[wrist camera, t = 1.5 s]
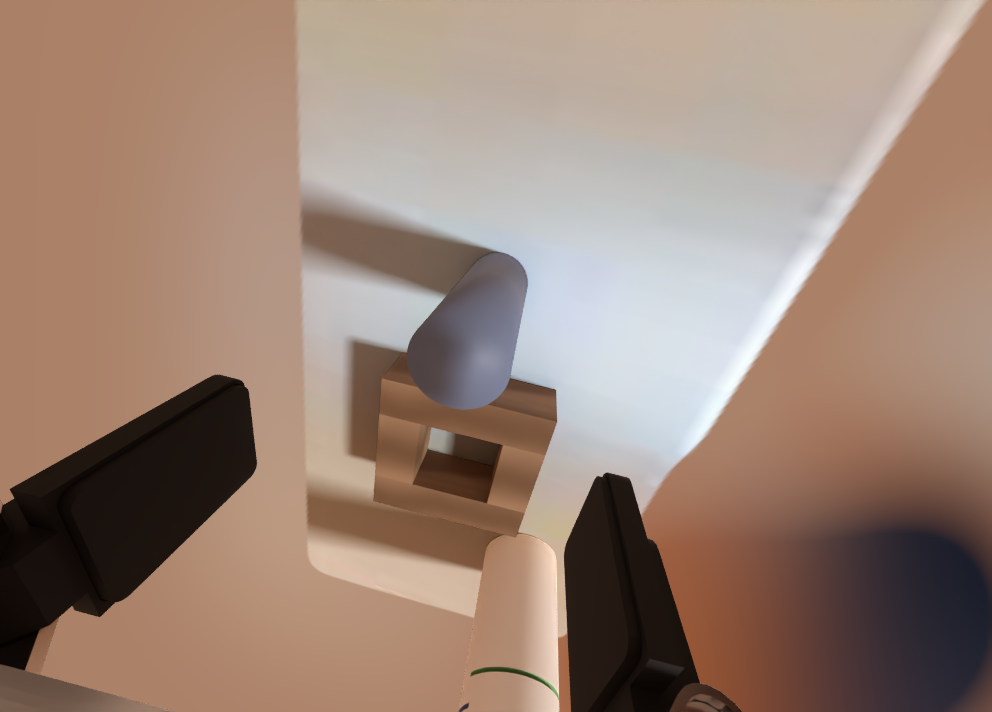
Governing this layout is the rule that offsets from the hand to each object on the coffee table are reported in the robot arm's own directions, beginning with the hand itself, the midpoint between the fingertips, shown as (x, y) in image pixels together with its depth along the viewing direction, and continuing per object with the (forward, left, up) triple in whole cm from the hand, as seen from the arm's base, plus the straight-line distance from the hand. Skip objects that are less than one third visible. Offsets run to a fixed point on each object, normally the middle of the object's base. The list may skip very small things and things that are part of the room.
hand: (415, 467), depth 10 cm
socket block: (+12, 0, -17) cm, 21 cm away
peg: (-1, 0, -17) cm, 17 cm away
